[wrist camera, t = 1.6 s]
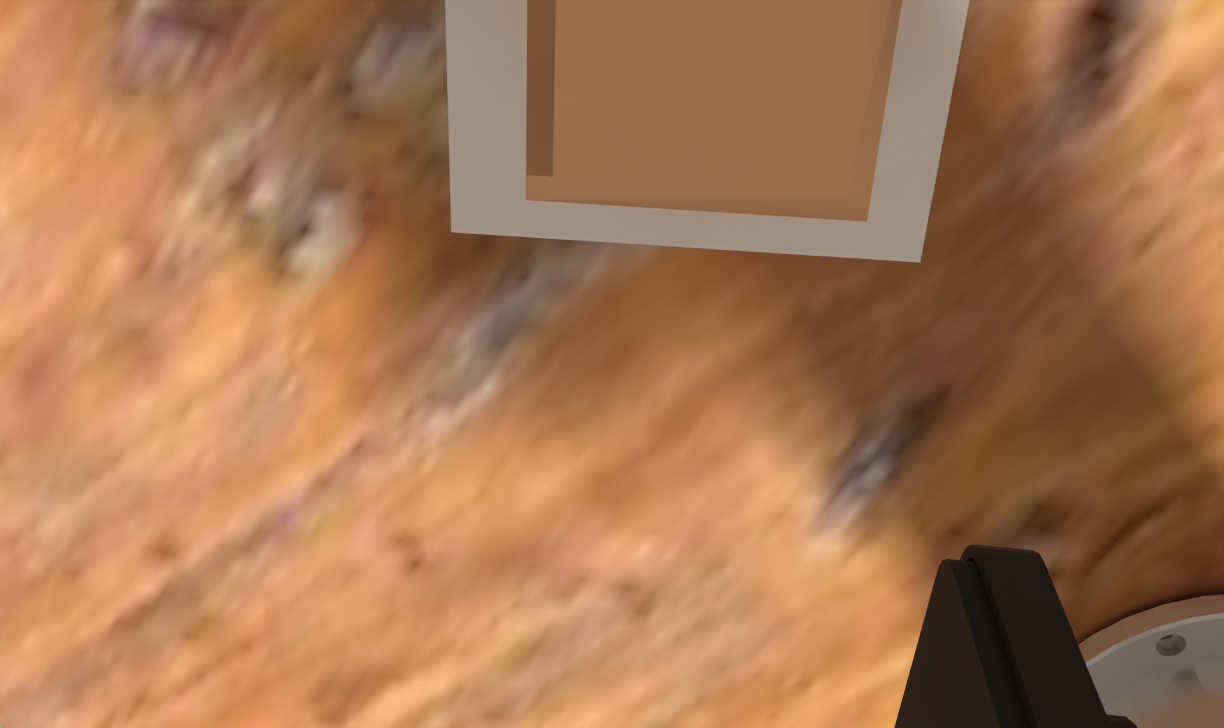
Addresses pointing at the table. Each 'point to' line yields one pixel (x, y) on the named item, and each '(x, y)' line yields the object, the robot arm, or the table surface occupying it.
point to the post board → (496, 205)
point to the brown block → (708, 103)
